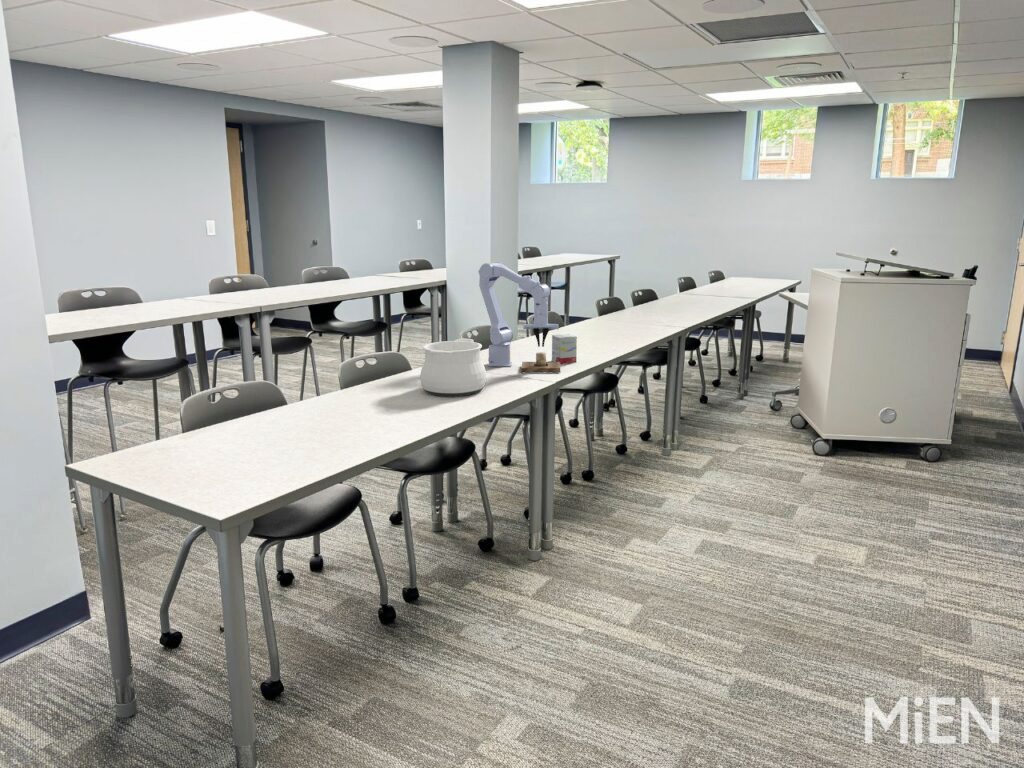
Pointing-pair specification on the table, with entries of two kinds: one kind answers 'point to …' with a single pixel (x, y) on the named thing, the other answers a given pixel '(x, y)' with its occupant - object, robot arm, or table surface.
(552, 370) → the board
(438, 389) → the pot
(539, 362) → the peg
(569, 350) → the ink box
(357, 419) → the table surface
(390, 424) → the table surface
